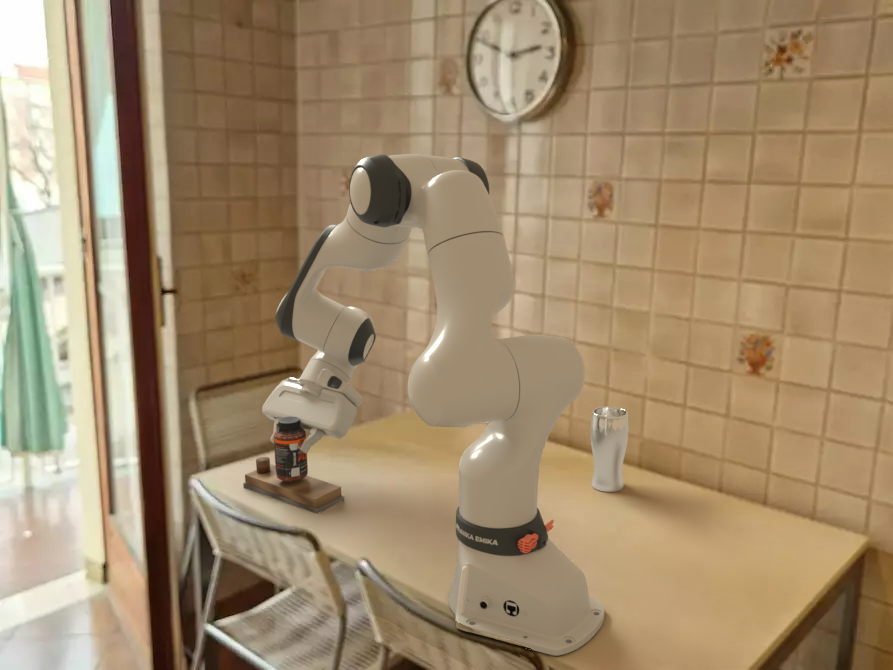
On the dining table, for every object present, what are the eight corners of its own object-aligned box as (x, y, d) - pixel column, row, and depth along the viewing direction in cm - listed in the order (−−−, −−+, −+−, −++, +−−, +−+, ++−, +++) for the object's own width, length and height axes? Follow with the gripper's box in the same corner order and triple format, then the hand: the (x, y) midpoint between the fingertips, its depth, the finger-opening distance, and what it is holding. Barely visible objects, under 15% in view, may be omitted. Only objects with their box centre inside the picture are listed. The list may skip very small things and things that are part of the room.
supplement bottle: (305, 482, 154) (301, 424, 151) (273, 482, 154) (269, 425, 151) (310, 469, 160) (307, 414, 157) (280, 470, 160) (276, 414, 157)
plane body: (344, 500, 154) (342, 475, 153) (317, 513, 149) (315, 487, 148) (271, 475, 166) (269, 451, 165) (243, 487, 161) (241, 462, 159)
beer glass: (623, 478, 162) (626, 406, 159) (627, 494, 156) (631, 418, 152) (587, 477, 163) (590, 405, 160) (590, 492, 156) (592, 417, 153)
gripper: (276, 367, 164) (240, 428, 159) (352, 384, 152) (317, 451, 147) (294, 383, 168) (260, 443, 163) (369, 401, 156) (335, 466, 151)
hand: (287, 447), depth 155 cm, fingers closed on supplement bottle, 6 cm apart
